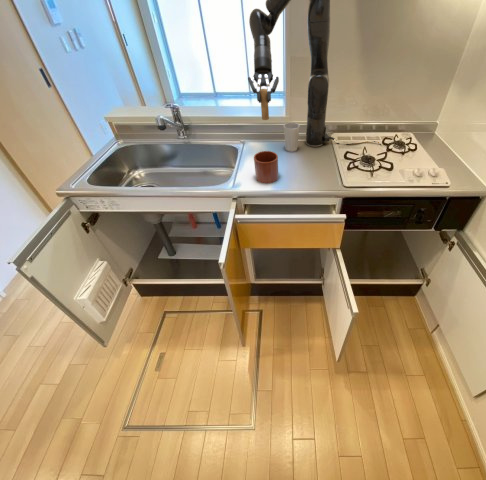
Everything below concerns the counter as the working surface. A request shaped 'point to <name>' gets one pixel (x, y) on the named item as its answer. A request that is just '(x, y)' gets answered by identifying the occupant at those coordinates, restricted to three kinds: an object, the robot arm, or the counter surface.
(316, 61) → the robot arm
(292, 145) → the cup
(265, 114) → the utensil
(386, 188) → the counter surface
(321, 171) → the counter surface
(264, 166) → the crock
